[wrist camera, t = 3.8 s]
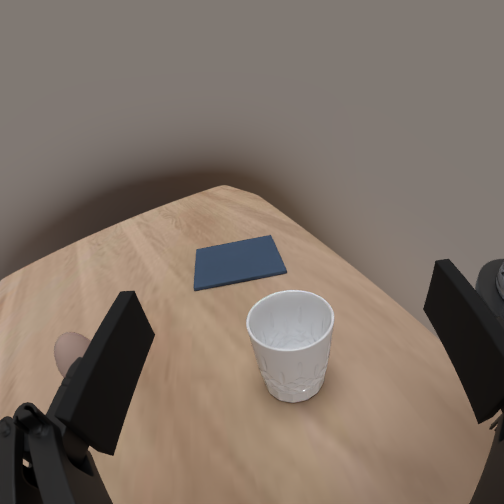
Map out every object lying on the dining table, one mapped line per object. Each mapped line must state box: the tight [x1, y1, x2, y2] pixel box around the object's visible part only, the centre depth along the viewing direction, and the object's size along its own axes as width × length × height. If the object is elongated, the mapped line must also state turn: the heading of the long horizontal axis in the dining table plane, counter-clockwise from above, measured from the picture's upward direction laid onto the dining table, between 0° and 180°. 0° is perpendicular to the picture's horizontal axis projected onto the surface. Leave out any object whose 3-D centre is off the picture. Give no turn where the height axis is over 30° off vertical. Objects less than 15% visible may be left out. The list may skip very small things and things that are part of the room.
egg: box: [54, 332, 91, 378], centre depth 29 cm, size 7×7×9 cm
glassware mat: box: [194, 235, 287, 291], centre depth 54 cm, size 16×14×1 cm
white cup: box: [246, 290, 334, 403], centre depth 27 cm, size 8×8×10 cm
